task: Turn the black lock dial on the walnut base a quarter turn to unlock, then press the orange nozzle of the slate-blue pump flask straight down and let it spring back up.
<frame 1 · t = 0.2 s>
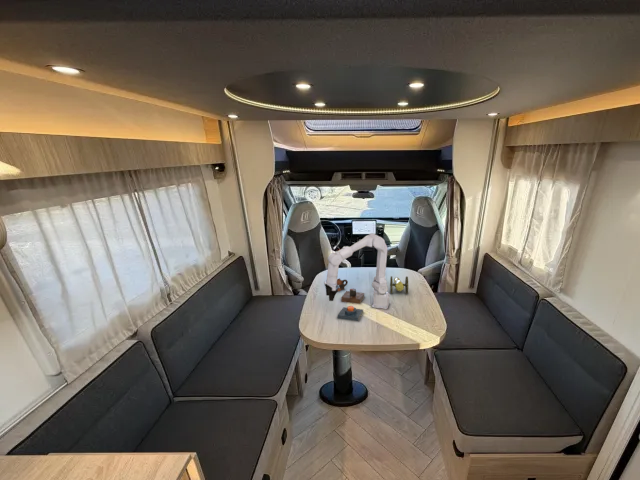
hand: (329, 297, 173), 10 cm above the table, tool pointing down, fingers open, 7 cm apart
brown angular figurine: (339, 288, 212), on the table
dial: (352, 292, 194), point 5 cm above the table, hinge at 0.0°
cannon: (398, 289, 211), on the table
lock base: (353, 299, 196), on the table
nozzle: (350, 308, 174), point 4 cm above the table, slide at 0.1 cm
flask: (350, 315, 175), on the table
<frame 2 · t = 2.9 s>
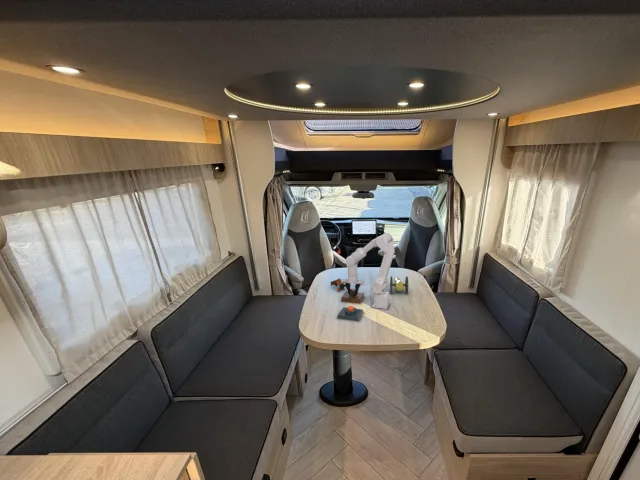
hand: (353, 294, 194), 3 cm above the table, tool pointing down, fingers closed on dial, 4 cm apart
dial: (352, 292, 194), point 5 cm above the table, hinge at -0.1°, touching gripper
everything else where it was.
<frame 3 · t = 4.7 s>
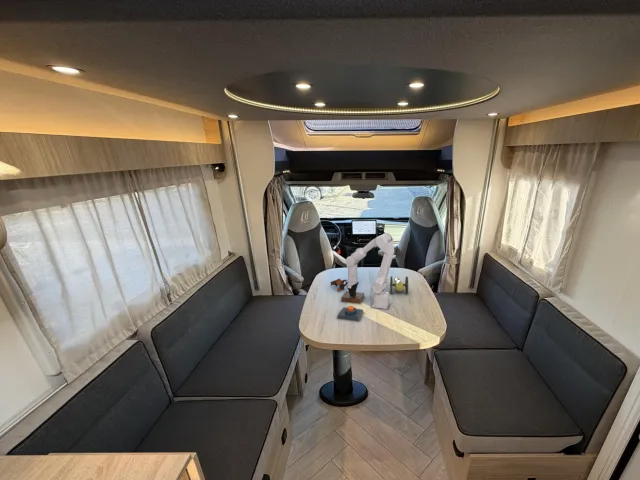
hand: (352, 294, 195), 3 cm above the table, tool pointing down, fingers closed on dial, 4 cm apart
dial: (352, 292, 194), point 5 cm above the table, hinge at 90.9°, touching gripper
everything else where it was.
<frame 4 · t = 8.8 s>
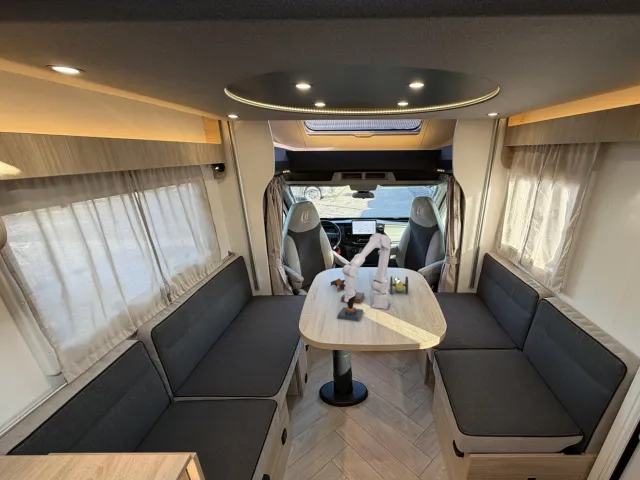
hand: (350, 308, 174), 5 cm above the table, tool pointing down, fingers closed, pressing on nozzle
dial: (352, 292, 194), point 5 cm above the table, hinge at 91.1°
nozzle: (350, 309, 174), point 4 cm above the table, slide at -0.5 cm, touching gripper
everything else where it was.
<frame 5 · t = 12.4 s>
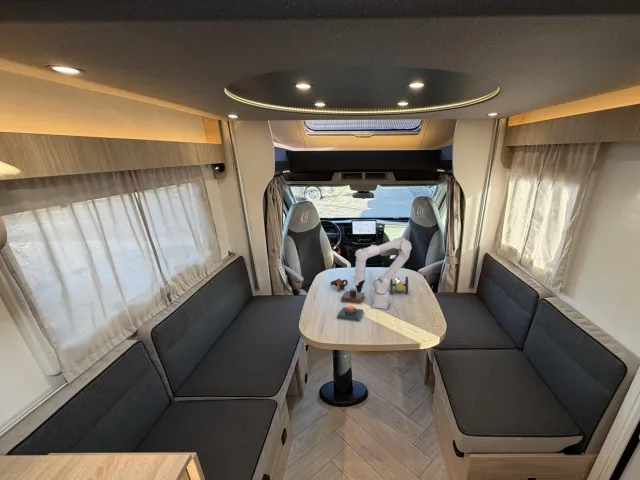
hand: (358, 292, 182), 10 cm above the table, tool pointing down, fingers closed
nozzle: (350, 308, 174), point 4 cm above the table, slide at 0.1 cm
everything else where it was.
at the end: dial at +91° (first picture: +0°); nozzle pushed in 1.2 cm at the most during the clip, back to where it started at the end; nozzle slide at 0.1 cm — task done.
